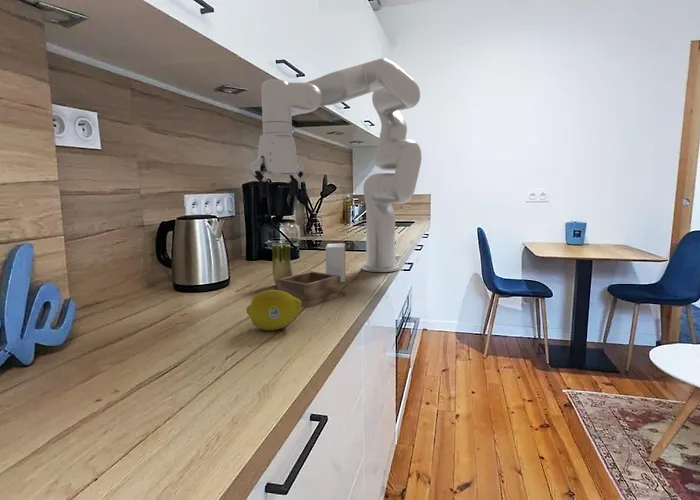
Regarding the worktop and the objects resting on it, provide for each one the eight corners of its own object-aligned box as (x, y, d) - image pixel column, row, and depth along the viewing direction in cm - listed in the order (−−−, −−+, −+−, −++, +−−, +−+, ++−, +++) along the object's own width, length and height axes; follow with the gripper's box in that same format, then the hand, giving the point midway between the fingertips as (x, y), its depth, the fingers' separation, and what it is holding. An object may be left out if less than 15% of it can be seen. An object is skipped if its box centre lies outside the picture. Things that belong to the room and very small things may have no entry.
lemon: (242, 335, 82) (240, 295, 81) (253, 322, 90) (251, 285, 88) (298, 336, 81) (297, 295, 80) (304, 322, 89) (303, 285, 88)
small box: (344, 282, 124) (344, 247, 123) (325, 282, 124) (325, 247, 123) (345, 276, 132) (345, 243, 131) (327, 276, 132) (327, 243, 131)
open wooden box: (311, 287, 118) (310, 270, 118) (345, 294, 111) (344, 275, 110) (273, 298, 108) (272, 279, 107) (308, 307, 100) (307, 286, 99)
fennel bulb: (270, 285, 122) (269, 243, 120) (286, 282, 125) (284, 242, 123) (280, 289, 117) (278, 246, 115) (296, 286, 120) (294, 244, 118)
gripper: (294, 134, 120) (295, 195, 123) (240, 129, 108) (243, 197, 111) (311, 132, 115) (313, 196, 118) (257, 126, 103) (260, 197, 106)
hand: (279, 196), depth 114 cm, fingers open, 9 cm apart
